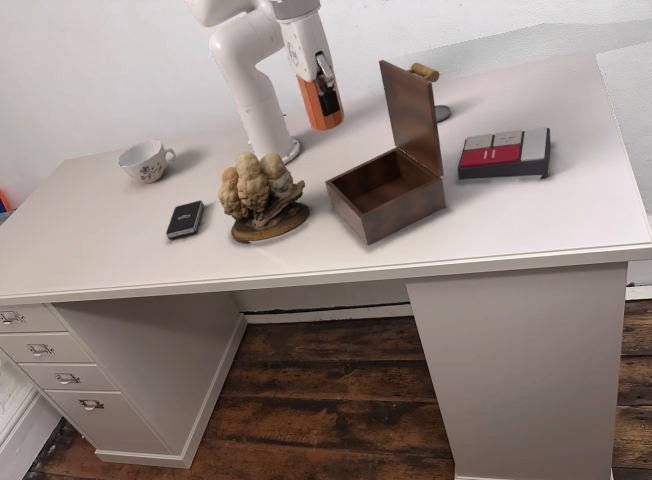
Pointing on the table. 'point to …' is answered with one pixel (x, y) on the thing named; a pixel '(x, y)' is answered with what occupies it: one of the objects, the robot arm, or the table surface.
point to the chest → (385, 195)
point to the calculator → (506, 154)
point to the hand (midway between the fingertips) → (323, 106)
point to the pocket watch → (442, 112)
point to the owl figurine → (261, 198)
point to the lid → (413, 112)
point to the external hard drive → (185, 220)
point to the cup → (314, 108)
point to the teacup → (146, 161)
